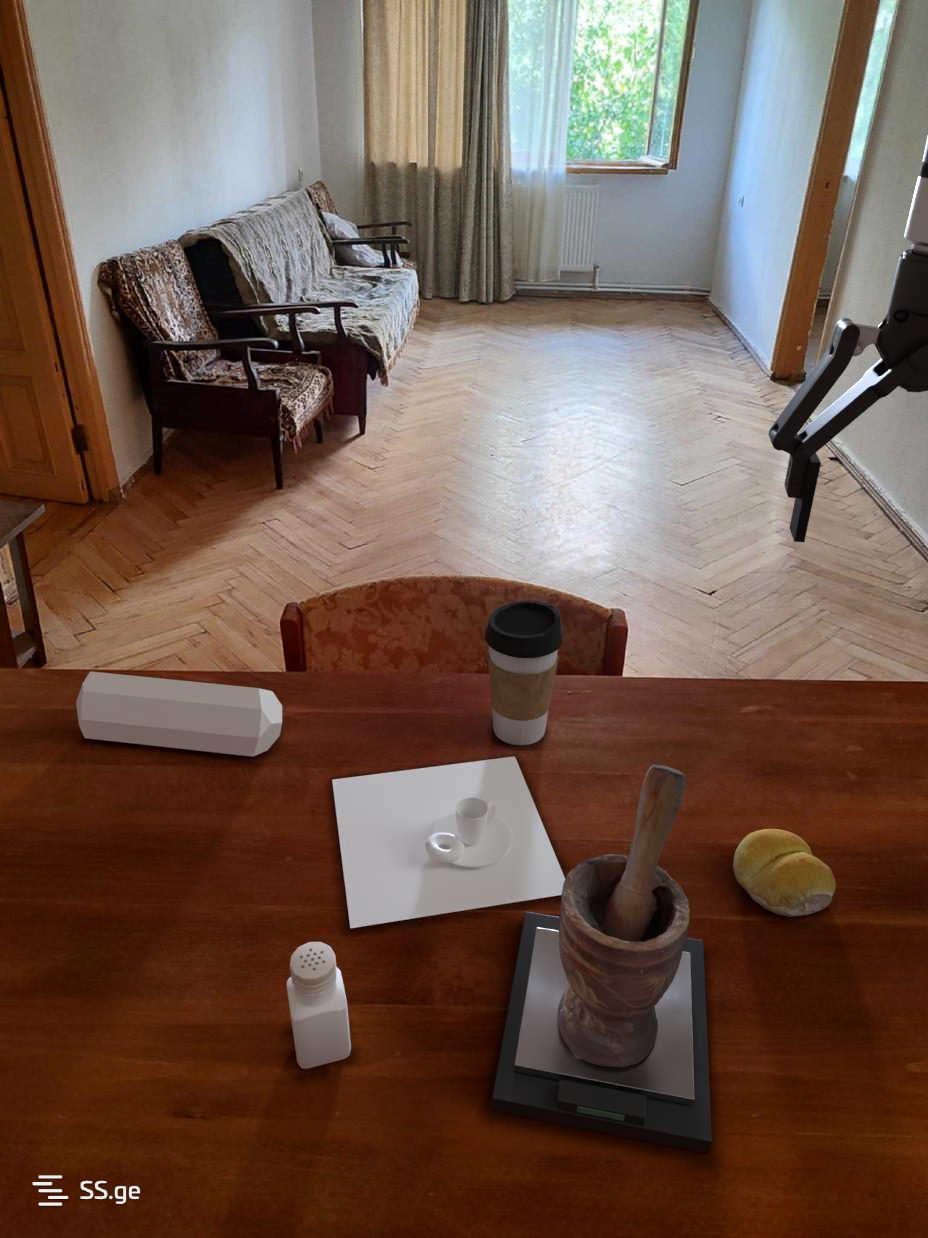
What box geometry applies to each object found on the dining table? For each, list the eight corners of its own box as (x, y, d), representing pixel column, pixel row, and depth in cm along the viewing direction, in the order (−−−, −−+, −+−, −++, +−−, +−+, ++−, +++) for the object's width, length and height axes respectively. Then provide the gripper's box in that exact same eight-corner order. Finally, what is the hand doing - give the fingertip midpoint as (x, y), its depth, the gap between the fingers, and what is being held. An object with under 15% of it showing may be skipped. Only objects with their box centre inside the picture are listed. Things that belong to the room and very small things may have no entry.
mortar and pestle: (557, 936, 73) (574, 744, 63) (663, 951, 72) (698, 757, 62) (546, 1066, 63) (564, 861, 53) (669, 1085, 62) (711, 880, 52)
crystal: (50, 722, 95) (263, 745, 92) (73, 663, 99) (280, 684, 95) (80, 748, 101) (281, 771, 98) (102, 692, 105) (296, 712, 102)
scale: (700, 952, 75) (705, 933, 73) (708, 1154, 60) (713, 1134, 59) (524, 923, 77) (526, 904, 76) (491, 1110, 63) (492, 1090, 61)
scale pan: (689, 959, 72) (690, 952, 72) (692, 1106, 61) (694, 1099, 61) (536, 933, 74) (536, 927, 74) (513, 1072, 63) (514, 1065, 63)
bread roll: (787, 839, 86) (795, 808, 84) (846, 907, 79) (856, 875, 77) (712, 856, 84) (719, 824, 82) (766, 928, 77) (774, 895, 75)
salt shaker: (352, 1060, 66) (345, 976, 61) (299, 1074, 65) (287, 990, 60) (343, 1014, 69) (336, 931, 64) (292, 1027, 68) (280, 943, 63)
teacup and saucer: (430, 878, 81) (429, 845, 79) (416, 819, 88) (415, 787, 86) (521, 864, 83) (523, 832, 81) (501, 807, 90) (502, 776, 88)
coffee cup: (571, 735, 100) (581, 621, 93) (511, 762, 96) (517, 644, 89) (525, 700, 106) (531, 590, 99) (468, 723, 102) (469, 610, 95)
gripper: (775, 252, 57) (727, 549, 68) (1202, 262, 53) (1081, 575, 64) (762, 238, 64) (719, 512, 74) (1142, 246, 60) (1041, 533, 70)
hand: (886, 541), depth 69 cm, fingers open, 13 cm apart
